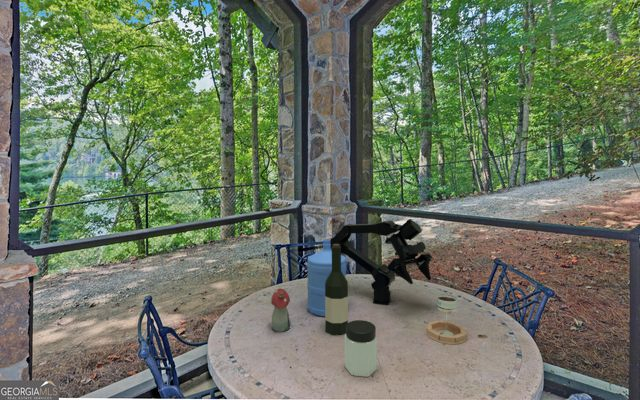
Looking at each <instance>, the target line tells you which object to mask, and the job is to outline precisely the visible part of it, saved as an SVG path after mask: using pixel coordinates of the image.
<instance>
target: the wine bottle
mask: <svg viewBox="0 0 640 400" xmlns="http://www.w3.org/2000/svg"><path fill="white" fill-rule="evenodd" d="M331 251H332V271H331V273H330V274H329V276H328V278H327V279H326V281H325V316H324V317H325V319H324V322H325V326H324V327H325V328H324V329H325V330H324V331H325V333H327V334H328V335H332V336H344V335H345V334H346V325H347V324H348V323H349V283H348V280H347V278H346V276H344V275H343V273H342V271H341V255H342V253H341V247H340V244H333V246H332V248H331Z"/></svg>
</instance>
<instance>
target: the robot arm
mask: <svg viewBox="0 0 640 400" xmlns="http://www.w3.org/2000/svg"><path fill="white" fill-rule="evenodd" d="M422 233H423V230H422V228H421V226H420V225H419V224H418V223H417V222H415V221H414V220H412V218H409V219H407V220H406V221H405V222H404V223H403V224H398V223H395V222H394V221H393V220H392V219H388V220H385V221H380V222H375V223H359V224H358V223H357V224H356V223H354V224H351V223H349V224H345V225H343V226H342V228H341V229H340V230H339V231H338V232H337V233H335V235H334V236H333V237H331V238H330V239H329V240H331V241H330V244H331V249H332V246H333V244H340V247H341V254H343V255H345V256H347V257H348V258H350V259H351V260H352V261H354V262H355V263H357V264H358V265H359V266H360V267H362V268H363V269H364V270H365V271H367V272H368V273H370V274H371V277H372V278H373V280H374V281H373V282H371V284H370V285H371V288H372V290H373V300H372V303H373V304H377V305H378V304H379V305H387V306H388V305H389V304H390V302H391V298H392V297H391V296H392V291H391V290H390V286H391V284H392V283H394V281H395V280H396V276H398V277H400V278H401V279H403V280H405V281H406V282H407V283H409V284H410V285H413V284H414V281H413V279H412V277H411V276H410V273H409V271H408V270H407V266H411V265H415V266H417V269H418V270H419V271H420V272H421V274H423V276H424V277H425V278H426V280H428V281H431V280H432V276H431V271H430V263H431V262H432V259H433V257H432V255H431V254H430V253H428V252H427V253H424V252H425V250H427V247H426V244H425V243H424V242H423V241H420V242H417V243H416V244H408V242H407V240H408V241H412V240H413V239H414V238H416V237H417V236H418V235H420V234H422ZM352 234H375V235H378V236H384V237H385V238H386V239H385V242H384V244H388V245H391V246H392V248H393V249H394V251H395V253H394V257H396V256H397V257H396V258H393V259H391V260H390V262H389V263H388V264H385V263H383V264H381V265H379V264H377V263H376V262H374V261H373V260H372V259H370V258H369V257H367V255H365V254H363V253H362V252H361V251H359V250H358V249H357V248H355V247H354V246H352V243H351V241H350V240H349V239H350V238H351V236H352ZM390 235H391V236H390ZM388 236H389V237H388ZM419 254H420V255H419Z"/></svg>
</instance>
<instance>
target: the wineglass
mask: <svg viewBox="0 0 640 400" xmlns="http://www.w3.org/2000/svg"><path fill="white" fill-rule="evenodd" d="M435 306H436V308H437V309H438V310H439V311H440V312H441V313H443V314H444V316H445V320H444V321H445V326H446V329H440V330H439V331H438V332H439V333H440V334H443V335H451V336H453V335H454V333H453V332H452V331H450V330H447V321H448V317H449V315H450V314H453V313H454V312H456V311H457V310H458V306H459V305H458V297H456V296H455V295H453V294H447V293H446V294H443V293H442V294H437V295H436V301H435Z"/></svg>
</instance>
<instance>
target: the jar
mask: <svg viewBox="0 0 640 400" xmlns="http://www.w3.org/2000/svg"><path fill="white" fill-rule="evenodd" d="M376 330H377V329H376V326H375V324H374V323H372V322H371V321H368V320H363V319H362V320H361V319H359V320H358V319H357V320H352V321H348V324H347V325H346V333H345V334H344V367H345V368H346V369H347V371H348V372H349V374H350V375H351V376H353V375H354V376H355V377H356V376H357V377H367V378H368V377H371V376H372V374H374V373H375V372H376V371H377V370H378V337H377V335H376Z"/></svg>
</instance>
